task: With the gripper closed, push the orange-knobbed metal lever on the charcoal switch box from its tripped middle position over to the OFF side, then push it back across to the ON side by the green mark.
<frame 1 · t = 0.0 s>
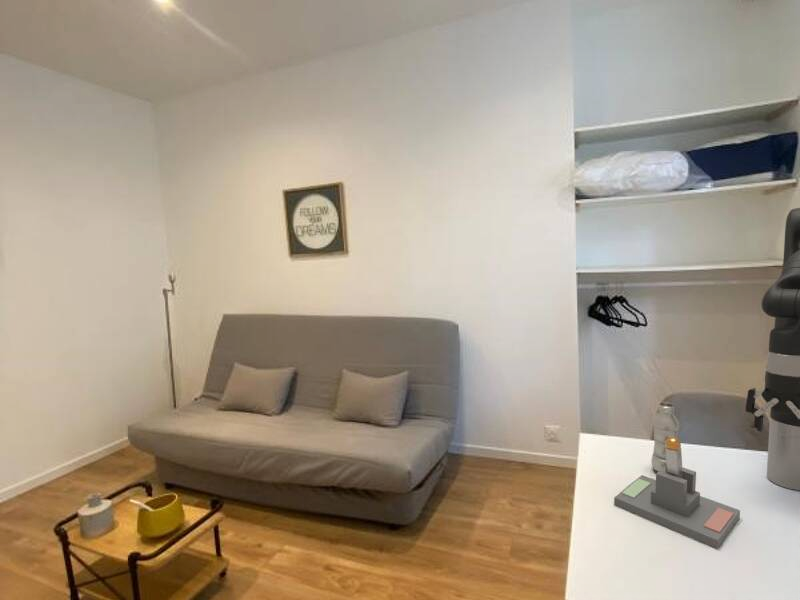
hand: (781, 435, 107), 17 cm above the table, tool pointing down, fingers open, 8 cm apart
switch box: (674, 511, 107), on the table
lever: (674, 463, 106), point 12 cm above the table, hinge at 5.0°
plastic bottle: (664, 472, 125), on the table
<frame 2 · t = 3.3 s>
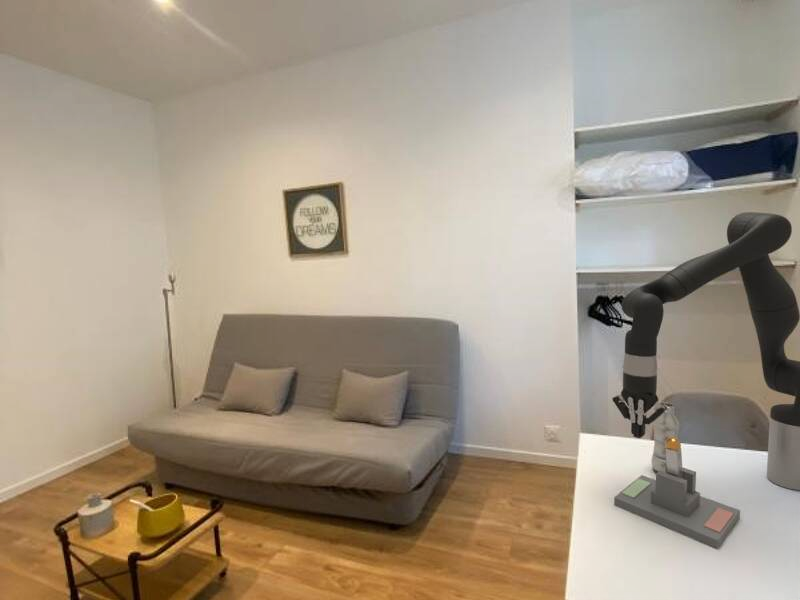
hand: (637, 436, 112), 16 cm above the table, tool pointing down, fingers closed
nothing on the table moved.
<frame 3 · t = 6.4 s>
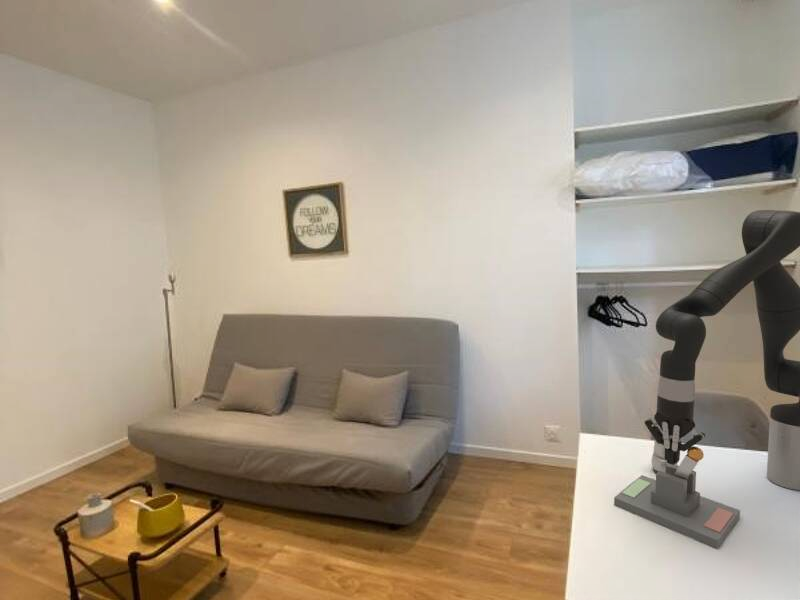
hand: (671, 462, 106), 12 cm above the table, tool pointing down, fingers closed
lever: (685, 468, 104), point 12 cm above the table, hinge at -22.5°, touching hand
everything else where it was.
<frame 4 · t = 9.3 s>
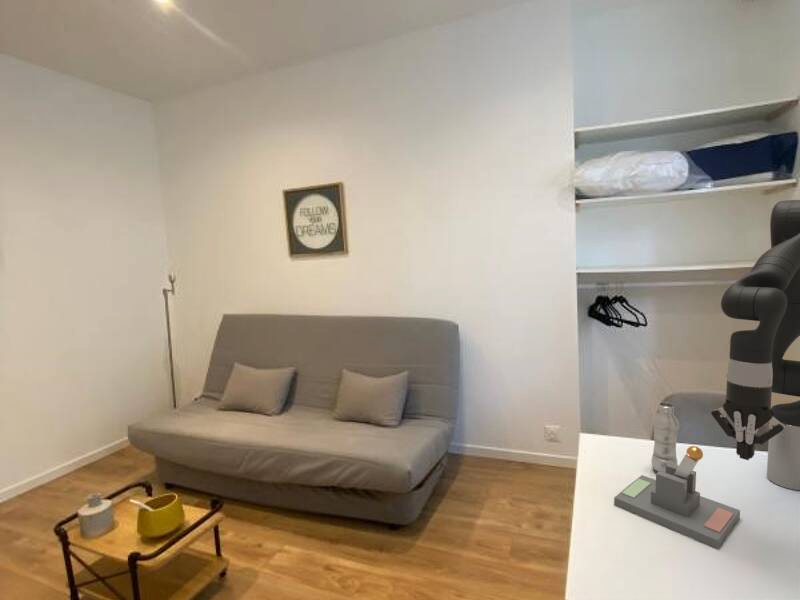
hand: (744, 457, 94), 19 cm above the table, tool pointing down, fingers closed
lever: (685, 468, 104), point 12 cm above the table, hinge at -21.8°
everything else where it was.
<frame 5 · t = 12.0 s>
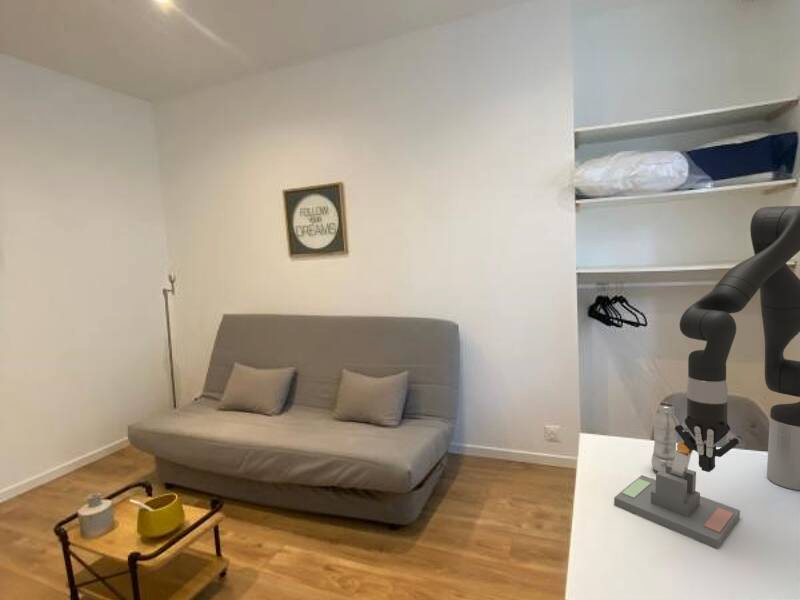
hand: (706, 470, 100), 13 cm above the table, tool pointing down, fingers closed
lever: (680, 465, 105), point 12 cm above the table, hinge at -9.5°, touching gripper, hand
everything else where it was.
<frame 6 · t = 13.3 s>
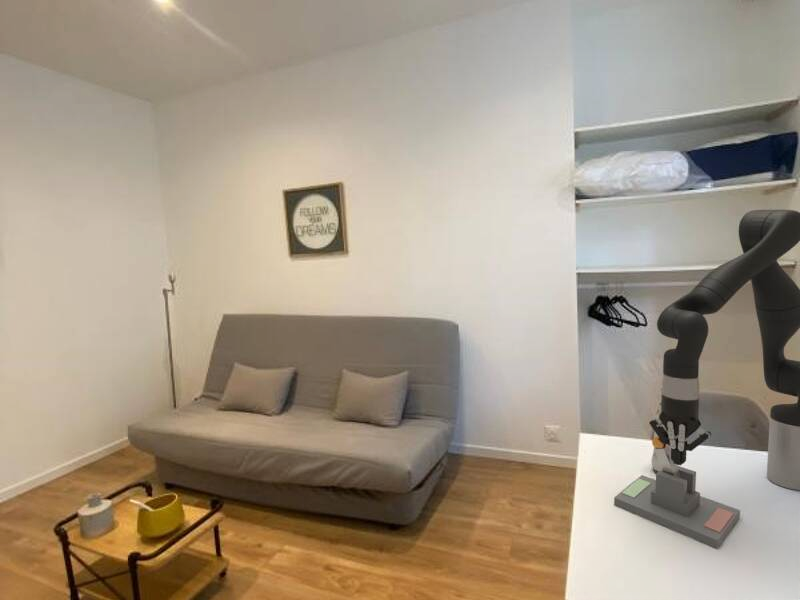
hand: (678, 463, 105), 13 cm above the table, tool pointing down, fingers closed
lever: (667, 462, 107), point 12 cm above the table, hinge at 22.7°, touching gripper, hand
everything else where it was.
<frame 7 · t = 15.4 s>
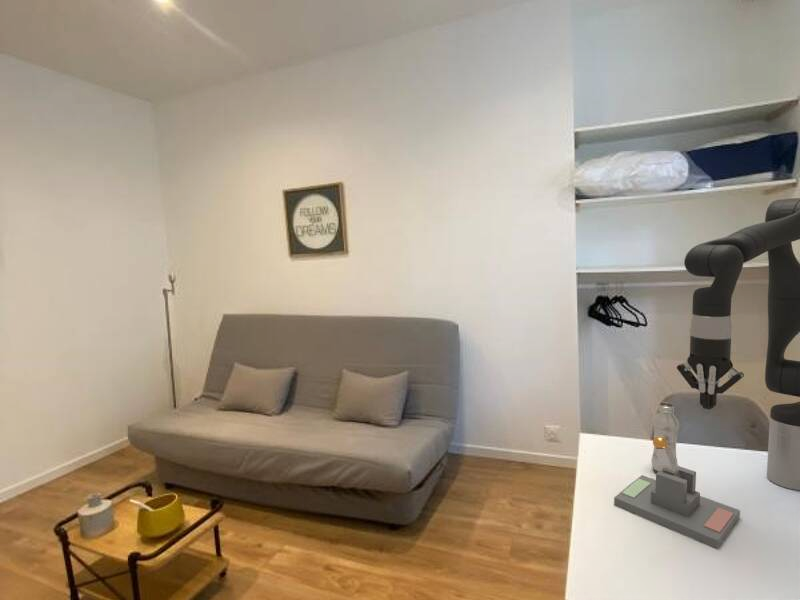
hand: (707, 408, 100), 27 cm above the table, tool pointing down, fingers closed
lever: (667, 462, 107), point 12 cm above the table, hinge at 21.8°
everything else where it was.
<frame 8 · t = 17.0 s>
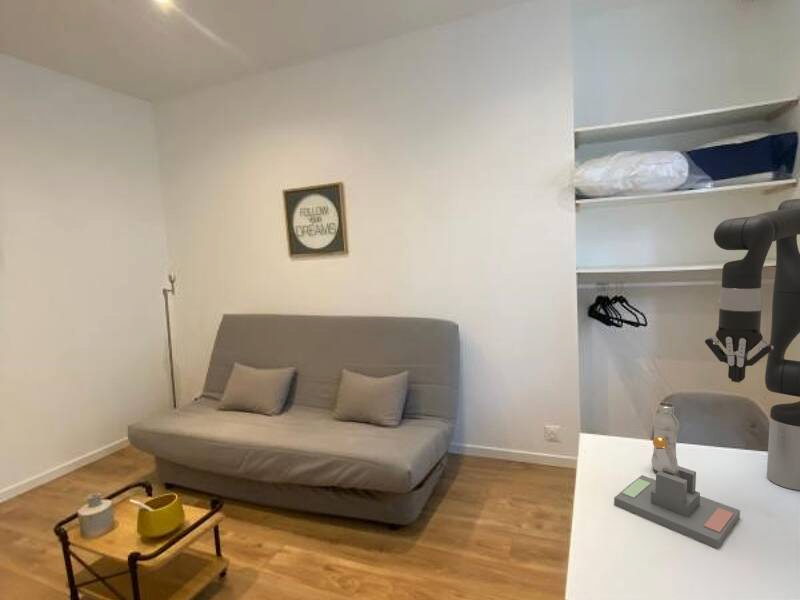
hand: (736, 381, 101), 33 cm above the table, tool pointing down, fingers closed
nothing on the table moved.
at the end: lever at +22° (first picture: +5°); plastic bottle moved 0.2 cm from its start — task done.
